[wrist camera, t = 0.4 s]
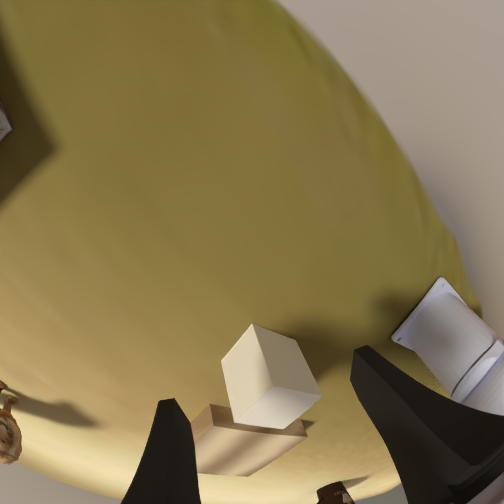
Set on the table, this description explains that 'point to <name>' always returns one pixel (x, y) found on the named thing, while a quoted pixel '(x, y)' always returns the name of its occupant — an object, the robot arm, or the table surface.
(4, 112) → the book
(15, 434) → the lion figurine
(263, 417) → the white block
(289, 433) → the oak block
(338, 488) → the coffee mug
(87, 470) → the table surface
